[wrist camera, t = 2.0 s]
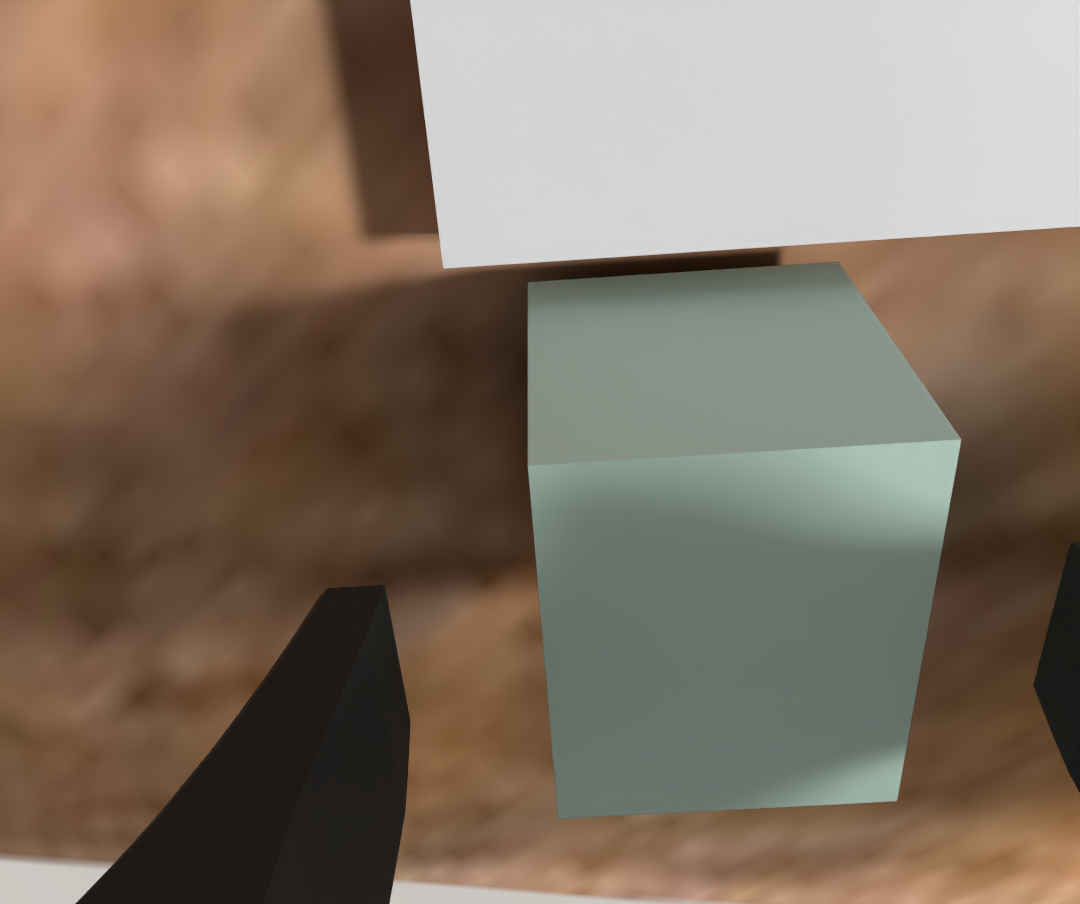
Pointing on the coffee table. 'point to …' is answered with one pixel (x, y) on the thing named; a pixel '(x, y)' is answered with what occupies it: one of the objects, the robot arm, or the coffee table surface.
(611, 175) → the dock
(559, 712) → the pale green block
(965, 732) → the coffee table surface
